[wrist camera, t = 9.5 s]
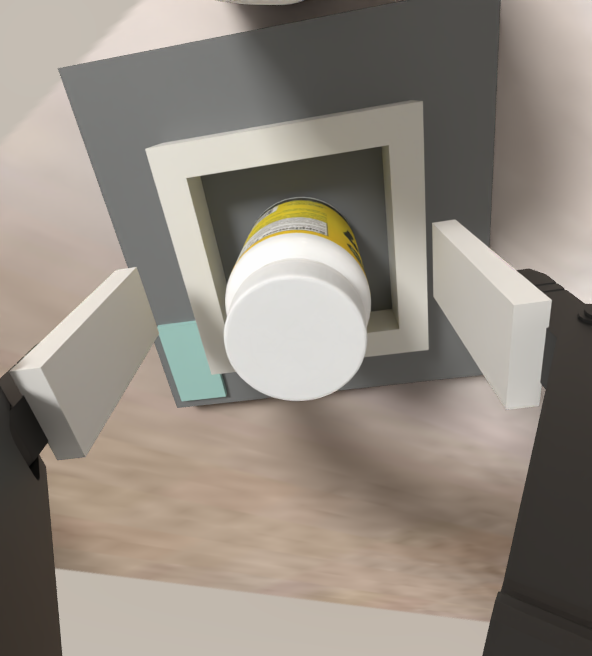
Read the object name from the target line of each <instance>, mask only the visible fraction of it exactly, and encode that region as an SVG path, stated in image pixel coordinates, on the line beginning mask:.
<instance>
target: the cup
mask: <svg viewBox="0 0 592 656" xmlns="http://www.w3.org/2000/svg"><path fill="white" fill-rule="evenodd" d="M217 1H223V2H230V3H238V4H256V5H286V4H294V3H298V2H302V1H304V0H217Z"/></svg>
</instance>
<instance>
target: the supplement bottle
mask: <svg viewBox="0 0 592 656" xmlns="http://www.w3.org/2000/svg"><path fill="white" fill-rule="evenodd" d="M225 307H226V313H227V318H226V322H225V327H224V344H225V350H226V353H227V356H228V359H229V361H230V363H231V365H232V366H233V368H234V369H235V371H236V372H237V374H238V375H239V376H240V377H241V378H242V379H243V380H244V381H245V382H246V383H248V384H249V385H250V386H251V387H253V388H254V389H256V390H258V391H259V392H261V393H263V394H266V395H268V396H271V397H274V398H278V399H282V400H289V401H307V400H313V399H318V398H321V397H324V396H327V395H329V394H332V393H333V392H335V391H337V390H338V389H340V388H341V387H343V386H344V385H345V384H346V383H348V382H349V381H350V380H351V379H352V378H353V376H354V375H355V374H356V372H357V371H358V370H359V368H360V366H361V364H362V362H363V359H364V357H365V353H366V349H367V339H368V338H367V328H366V327H367V325H368V321H369V318H370V311H371V294H370V289H369V285H368V281H367V277H366V274H365V270H364V267H363V264H362V260H361V257H360V253H359V250H358V246H357V243H356V240H355V237H354V234H353V231H352V229H351V227H350V225H349V223H348V221H347V220H346V218H345V217H344V216H343V215H342V214H341V213H340V212H339V211H338V210H337V209H336V208H334V207H333V206H331V205H330V204H328V203H326V202H324V201H321V200H319V199H315V198H310V197H294V198H289V199H285V200H282V201H280V202H278V203H276V204H274V205H272V206H271V207H269V208H268V209H267V210H265V211H264V212H263V213H262V214H261V215H260V217H259V218H258V219H257V221H256V222H255V224H254V225H253V227H252V229H251V231H250V234H249V235H248V238H247V240H246V242H245V244H244V246H243V249H242V251H241V253H240V255H239V257H238V259H237V262H236V264H235V266H234V268H233V270H232V272H231V274H230V277H229V280H228V284H227V288H226V295H225Z"/></svg>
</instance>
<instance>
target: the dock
mask: <svg viewBox="0 0 592 656" xmlns="http://www.w3.org/2000/svg"><path fill="white" fill-rule="evenodd" d="M500 1H501V0H405V1H400V2H395V3H390V4H384V5H379V6H374V7H369V8H364V9H359V10H354V11H349V12H344V13H338V14H333V15H328V16H323V17H318V18H313V19H308V20H303V21H298V22H293V23H287V24H282V25H277V26H272V27H267V28H262V29H257V30H252V31H247V32H241V33H236V34H231V35H226V36H221V37H216V38H211V39H206V40H201V41H195V42H190V43H185V44H180V45H175V46H170V47H165V48H160V49H155V50H149V51H144V52H139V53H134V54H129V55H124V56H119V57H114V58H109V59H103V60H98V61H93V62H88V63H83V64H78V65H73V66H68V67H63V68H59V69H58V70H59V73H60V76H61V79H62V81H63V84H64V87H65V90H66V93H67V96H68V99H69V101H70V104H71V107H72V110H73V113H74V116H75V118H76V121H77V124H78V127H79V130H80V133H81V136H82V138H83V141H84V144H85V147H86V150H87V153H88V155H89V158H90V161H91V164H92V167H93V170H94V172H95V175H96V178H97V181H98V184H99V187H100V190H101V192H102V195H103V198H104V201H105V204H106V207H107V209H108V212H109V215H110V218H111V221H112V224H113V227H114V229H115V232H116V235H117V238H118V241H119V244H120V246H121V249H122V252H123V255H124V258H125V261H126V263H127V266H128V268H133V267H137V270H138V273H139V276H140V278H141V281H142V284H143V287H144V290H145V293H146V296H147V299H148V302H149V305H150V308H151V311H152V314H153V317H154V320H155V322H156V325H157V328H158V331H159V335H158V337H157V338H156V340H155V342H154V343H155V346H156V349H157V352H158V354H159V357H160V360H161V363H162V366H163V369H164V372H165V374H166V377H167V380H168V383H169V386H170V389H171V391H172V394H173V397H174V400H175V403H176V406H177V408H181V407H190V406H199V405H209V404H218V403H227V402H236V401H246V400H255V399H264V398H274V397H271V396H268V395H266V394H263V393H261V392H259V391H258V390H256V389H254V388H253V387H251V386H250V385H249V384H248V383H246V382H245V381H244V380H243V379H242V378H241V377H240V376H239V375H238V374H237V372H236V371H235V369H234V368H233V366H232V365H231V363H230V361H229V359H228V356H227V353H226V350H225V344H224V327H225V322H226V318H227V313H226V307H225V295H226V288H227V284H228V280H229V277H230V274H231V272H232V270H233V268H234V266H235V264H236V262H237V259H238V257H239V255H240V253H241V251H242V249H243V246H244V244H245V242H246V240H247V238H248V235H249V234H250V231H251V229H252V227H253V225H254V224H255V222H256V221H257V219H258V218H259V217H260V215H261V214H262V213H263V212H264V211H265V210H267V209H268V208H269V207H271V206H272V205H274V204H276V203H278V202H280V201H282V200H285V199H289V198H294V197H310V198H315V199H319V200H321V201H324V202H326V203H328V204H330V205H331V206H333V207H334V208H336V209H337V210H338V211H339V212H340V213H341V214H342V215H343V216H344V217H345V218H346V220H347V221H348V223H349V225H350V227H351V229H352V231H353V234H354V237H355V240H356V243H357V246H358V250H359V253H360V257H361V260H362V264H363V267H364V270H365V274H366V277H367V281H368V285H369V289H370V294H371V311H370V318H369V321H368V325H367V327H366V328H367V338H368V339H367V349H366V353H365V357H364V359H363V362H362V364H361V366H360V368H359V370H358V371H357V372H356V374H355V375H354V376H353V378H352V379H351V380H350V381H349V382H348V383H346V384H345V385H344V386H343V387H341V388H340V389H338V390H337V391H339V390H348V389H357V388H366V387H376V386H385V385H394V384H403V383H413V382H422V381H431V380H441V379H450V378H459V377H468V376H478V375H483V373H482V372H481V370H480V369H479V367H478V366H477V364H476V362H475V361H474V359H473V358H472V356H471V355H470V353H469V351H468V350H467V348H466V347H465V345H464V344H463V342H462V340H461V339H460V337H459V336H458V334H457V333H456V331H455V330H454V328H453V326H452V325H451V323H450V322H449V320H448V319H447V317H446V315H445V314H444V312H443V311H442V309H441V308H440V306H439V304H438V303H437V301H436V300H435V298H434V297H433V239H432V223H434V222H441V221H448V220H457V221H458V222H459V223H460V224H461V225H462V226H464V227H465V228H466V229H467V230H468V231H470V232H471V233H472V234H473V235H474V236H476V237H477V238H478V239H479V240H480V241H482V242H483V243H484V244H485V245H486V246H488V247H490V225H491V202H492V180H493V158H494V135H495V113H496V91H497V68H498V46H499V24H500Z"/></svg>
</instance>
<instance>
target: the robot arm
mask: <svg viewBox="0 0 592 656" xmlns="http://www.w3.org/2000/svg"><path fill="white" fill-rule="evenodd" d="M432 239H433V297H434V298H435V300H436V301H437V303H438V304H439V306H440V308H441V309H442V311H443V312H444V314H445V315H446V317H447V319H448V320H449V322H450V323H451V325H452V326H453V328H454V330H455V331H456V333H457V334H458V336H459V337H460V339H461V340H462V342H463V344H464V345H465V347H466V348H467V350H468V351H469V353H470V355H471V356H472V358H473V359H474V361H475V362H476V364H477V366H478V367H479V369H480V370H481V372H482V373H483V375H484V377H485V378H486V380H487V381H488V383H489V384H490V386H491V387H492V389H493V391H494V392H495V394H496V395H497V397H498V398H499V400H500V402H501V403H502V405H503V406H504V408H505V409H506V410H509V409H518V408H527V407H536V406H539V404H540V396H541V387H542V385H543V387H544V388H545V389H546V391H545V396H544V400H543V405H542V410H541V414H540V419H539V423H538V428H537V432H536V437H535V441H534V446H533V450H532V455H531V460H530V464H529V469H528V473H527V478H526V482H525V487H524V491H523V496H522V500H521V505H520V509H519V514H518V519H517V523H516V528H515V532H514V537H513V541H512V546H511V550H510V555H509V559H508V564H507V569H506V573H505V578H504V582H503V586H502V589H501V592H498V594H497V597H496V600H495V604H494V608H493V612H492V616H491V620H490V625H489V629H488V634H487V638H486V643H485V647H484V651H483V656H592V304H585V303H583V302H582V301H581V300H579V299H578V298H577V297H575V296H574V295H573V294H571V293H570V292H569V291H567V290H564V288H563V287H562V286H561V285H559V284H556V282H555V281H554V280H553V279H551V278H550V277H549V276H547V275H546V274H543V273H540V272H537V271H534V270H532V269H523V270H515V269H514V268H513V267H512V266H510V265H509V264H508V263H507V262H506V261H504V260H503V259H502V258H501V257H500V256H498V255H497V254H496V253H495V252H494V251H492V250H491V249H490V248H489V247H488V246H486V245H485V244H484V243H483V242H482V241H480V240H479V239H478V238H477V237H476V236H474V235H473V234H472V233H471V232H470V231H468V230H467V229H466V228H465V227H464V226H462V225H461V224H460V223H459V222H458V221H457V220H448V221H441V222H434V223H432ZM158 335H159V331H158V328H157V325H156V322H155V320H154V317H153V314H152V311H151V308H150V305H149V302H148V299H147V296H146V293H145V290H144V287H143V284H142V281H141V278H140V276H139V273H138V270H137V267H133V268H126V269H119V270H116V271H115V272H114V273H113V274H111V275H110V276H109V277H108V278H107V279H106V280H105V281H104V282H103V283H102V284H101V285H100V286H99V287H98V288H97V289H96V290H95V291H94V292H93V293H91V294H90V295H89V296H88V297H87V298H86V299H85V300H84V301H83V302H82V303H81V304H80V305H79V306H78V307H77V308H76V309H75V310H74V311H72V312H71V313H70V314H69V315H68V316H67V317H66V318H65V319H64V320H63V321H62V322H61V323H60V324H59V325H58V326H57V327H56V328H55V329H54V330H52V331H51V332H50V333H49V334H48V335H47V336H46V337H45V338H44V339H43V340H42V341H41V342H40V343H38V344H37V345H35V346H34V347H33V348H32V349H31V350H30V351H29V352H28V353H27V354H26V355H25V357H22V358H21V359H20V360H19V361H18V362H17V365H14V366H13V367H12V368H11V369H10V370H9V371H8V372H7V373H6V374H4V375H3V376H2V377H1V378H0V656H62V647H61V636H60V624H59V612H58V601H57V589H56V577H55V566H54V554H53V543H52V531H51V519H50V508H49V496H48V485H47V473H46V466H45V464H44V462H43V461H42V459H41V457H40V455H39V454H40V452H41V451H42V450H43V448H44V447H45V446H46V444H47V443H48V444H49V446H50V448H51V450H52V451H53V453H54V455H55V457H56V459H57V460H64V459H73V458H82V457H86V455H87V454H88V452H89V450H90V449H91V447H92V445H93V444H94V442H95V440H96V439H97V437H98V435H99V434H100V432H101V430H102V429H103V427H104V425H105V424H106V422H107V420H108V419H109V417H110V415H111V413H112V412H113V410H114V408H115V407H116V405H117V403H118V402H119V400H120V398H121V397H122V395H123V393H124V392H125V390H126V388H127V387H128V385H129V383H130V382H131V380H132V378H133V377H134V375H135V373H136V372H137V370H138V368H139V367H140V365H141V363H142V362H143V360H144V358H145V357H146V355H147V353H148V352H149V350H150V348H151V347H152V345H153V343H154V342H155V340H156V338H157V337H158Z"/></svg>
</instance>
